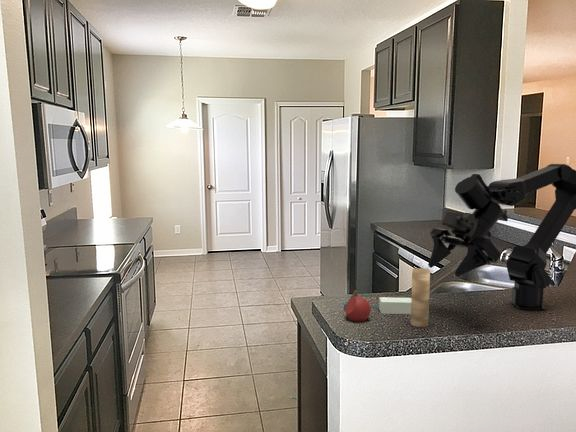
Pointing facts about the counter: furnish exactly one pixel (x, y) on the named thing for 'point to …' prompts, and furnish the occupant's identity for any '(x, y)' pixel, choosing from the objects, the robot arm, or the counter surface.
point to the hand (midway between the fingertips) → (442, 270)
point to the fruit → (358, 309)
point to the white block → (394, 305)
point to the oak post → (420, 297)
